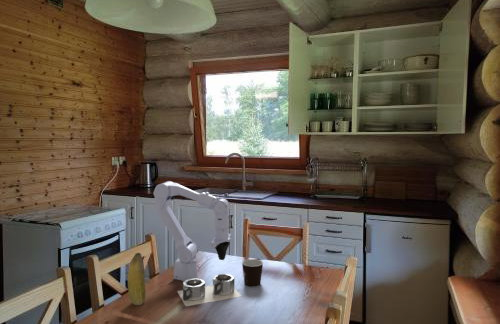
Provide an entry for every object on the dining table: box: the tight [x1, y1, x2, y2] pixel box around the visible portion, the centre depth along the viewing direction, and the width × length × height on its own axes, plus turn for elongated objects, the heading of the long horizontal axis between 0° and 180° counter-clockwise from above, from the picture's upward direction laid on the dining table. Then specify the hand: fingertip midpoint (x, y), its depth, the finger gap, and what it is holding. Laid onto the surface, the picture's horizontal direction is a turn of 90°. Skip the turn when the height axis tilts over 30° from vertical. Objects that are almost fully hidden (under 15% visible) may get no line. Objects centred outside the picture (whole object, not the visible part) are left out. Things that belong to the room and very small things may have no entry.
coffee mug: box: [241, 258, 264, 288], centre depth 159 cm, size 12×9×10 cm
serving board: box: [176, 284, 242, 307], centre depth 148 cm, size 22×14×1 cm, turn 113°
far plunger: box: [219, 275, 228, 281], centre depth 150 cm, size 5×5×4 cm
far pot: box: [212, 273, 235, 296], centre depth 149 cm, size 8×11×5 cm
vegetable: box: [127, 252, 146, 306], centre depth 139 cm, size 6×6×20 cm
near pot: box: [182, 277, 206, 301], centre depth 144 cm, size 8×11×5 cm
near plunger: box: [189, 280, 199, 286], centre depth 145 cm, size 5×5×4 cm
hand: (221, 259), depth 160 cm, fingers closed
